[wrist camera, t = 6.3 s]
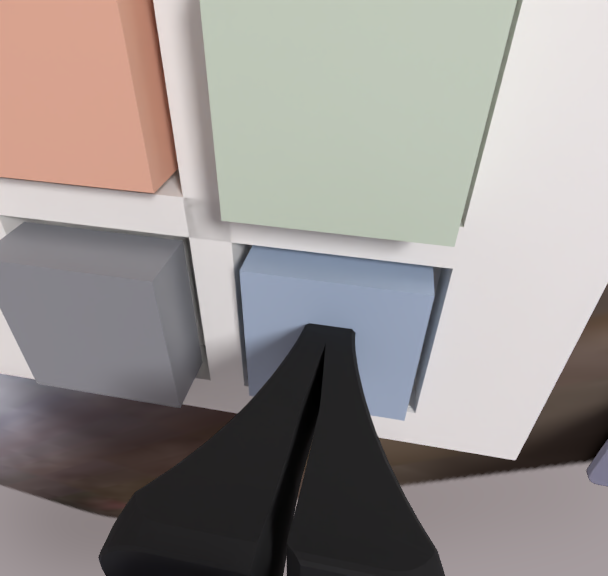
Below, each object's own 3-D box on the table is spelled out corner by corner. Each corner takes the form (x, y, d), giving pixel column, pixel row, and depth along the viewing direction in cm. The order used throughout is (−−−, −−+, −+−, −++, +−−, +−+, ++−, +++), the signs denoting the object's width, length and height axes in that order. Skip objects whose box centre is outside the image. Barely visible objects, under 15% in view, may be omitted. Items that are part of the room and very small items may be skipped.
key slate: (432, 251, 13) (434, 295, 12) (405, 373, 16) (404, 421, 15) (259, 232, 14) (239, 270, 12) (264, 352, 17) (249, 395, 15)
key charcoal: (182, 240, 13) (152, 282, 12) (202, 362, 16) (180, 408, 15) (24, 221, 14) (-25, 258, 13) (71, 341, 17) (37, 383, 16)
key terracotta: (153, -68, 10) (104, -67, 8) (185, 161, 13) (153, 193, 11) (-57, -74, 11) (-140, -74, 9) (20, 145, 14) (-31, 173, 12)
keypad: (761, -197, 8) (894, -243, 6) (504, 400, 18) (516, 468, 16) (-206, -188, 11) (-370, -218, 9) (29, 327, 21) (-19, 377, 18)
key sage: (508, -57, 8) (530, -52, 7) (448, 202, 11) (454, 247, 10) (231, -65, 9) (193, -63, 7) (246, 182, 12) (221, 220, 10)
